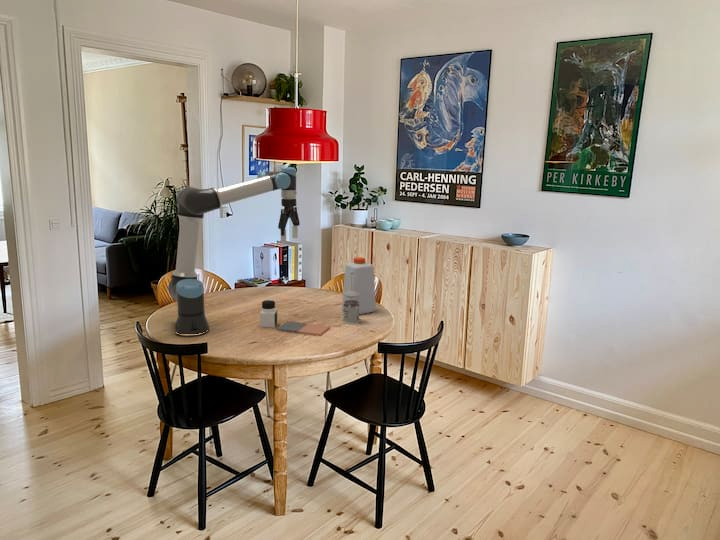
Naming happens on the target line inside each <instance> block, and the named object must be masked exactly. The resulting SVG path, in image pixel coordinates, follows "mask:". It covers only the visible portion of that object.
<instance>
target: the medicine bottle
mask: <svg viewBox="0 0 720 540" xmlns="http://www.w3.org/2000/svg"><path fill="white" fill-rule="evenodd" d="M277 324H278V308H276V302H275V300H272V299H265V300H263V301H262V302H261V311H260V312H259V327H260V328H276V326H277Z"/></svg>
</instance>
